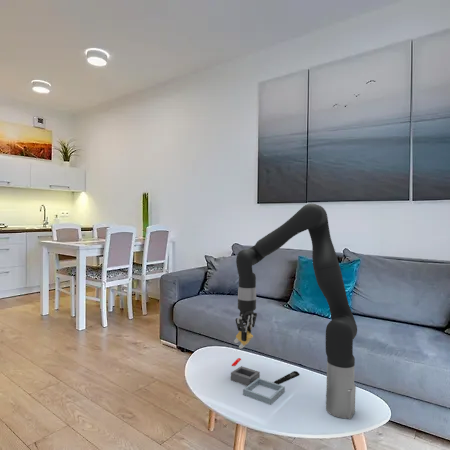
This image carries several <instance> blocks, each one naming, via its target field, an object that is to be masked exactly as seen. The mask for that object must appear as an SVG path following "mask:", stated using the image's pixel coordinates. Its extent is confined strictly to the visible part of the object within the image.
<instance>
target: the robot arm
mask: <svg viewBox="0 0 450 450" xmlns="http://www.w3.org/2000/svg"><path fill="white" fill-rule="evenodd" d="M328 219H329V217H328V214H327V211H326V209H325V208H324V207H323V206H322V205H319V204H316V203H307V204H305V205H303V206H302V207H301V208H300V209H298V210H297V212H295V214H294V215H292V216H291V217H290V218H289V219H287V220H286V221H285V222H284V223H282V224H281V225H280V226H278V227H277V228H275V229H274V230H272V231H271V232H269V233H267V234H266V235H265V236H263V237H262V238H259V240H258V241H256V243H255V244H254V245H252V246H251V247H249V248H248V249H241V250H239V252H238V253H237V254H236V259H235V263H236V269H237V275H238V290H237V309H238V310H239V315H238V318H235V324H236V328H237V331H238V332H239V331H241V340H242V341H246V340H247V330H248V331H249V333H251V334H252V330H253V328H255V326H256V325H255V324H256V321H257V316H258V313H257V312H254V311H256V309H257V288H256V287H257V285H256V284H257V277H256V273H254V272H253V266H255V265H257V264H258V263H259V262H261V261H263V259H264V258H266V257H267V256H269V255H271V254H272V253H274V252H275V251H277V250H279V249H280V248H281V247H283V246H284V245H285V244H287V242H289V241H290V240H291V239H293V238H294V237H295V236H296V235H298V234H301V233H302V232H305V231H307V230H308V233H309V237H310V240H311V244H312V245H311V247H312V253H311V254H312V255H311V256H312V267H313V271H314V276H315V279H316V282H317V285H318V288H319V289H320V292H322V294H323V295H322V296H324V298H325V300H326V302H327V304H328V308H329V313H330V318H331V319H330V321H329V322H328V324H327V325H326V328H325V353H326V354H325V355H326V357H327V358H326V390H325V396H326V397H325V409H326V411H327V413H329V414H330V415H331V416H333V417H336V418H342V419H349V420H351V419H352V418H353V415H354V414H355V412H356V392H357V391H356V389H357V388H356V387H357V385H356V384H355V364H356V358H355V356H354V354H353V353H354V352H353V349H354V348H353V347H354V346H353V345H354V344H353V341H354V339H355V338H356V336H357V334H358V326H357V322H356V320H355V317H354V314H353V312H352V309H351V307H350V304H349V301H348V300H349V299H348V297H347V291H346V286H345V283H344V279H343V274H342V270H341V266H340V262H339V259H338V256H337V253H336V249H335V246H334V244H333V241H332V237H331V231H330V226H329V220H328ZM244 327H245V329H244Z"/></svg>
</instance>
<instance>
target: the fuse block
mask: <svg viewBox="0 0 450 450" xmlns="http://www.w3.org/2000/svg"><path fill="white" fill-rule="evenodd" d="M260 374H261V372H260V371H258V370H255V369H252V368H248V367H246V366H243V365H241V366H239V367H238V368H236V369H234V370H233V371H231V372H230V381H231V382H232V381H233V382H234V383H238V384H241V385H244V386H246V387H247V386H248V385H250V384H251V383H252V382H254V381H255V380H256V379H258V378H260V376H261V375H260ZM260 379H261V378H260Z"/></svg>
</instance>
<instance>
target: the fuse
mask: <svg viewBox="0 0 450 450" xmlns="http://www.w3.org/2000/svg"><path fill="white" fill-rule="evenodd" d="M244 329H245V326H244ZM253 337H254V335H253V334H252V332H251V333H249V331H248V330H247V340H246V341H242V340H241V331H238V333H236V335H235V339H234V340H233V343H235V344H238V343H239V342H240V344H239V346H238V348H239V349H243V348H244V347H245V346H246V345H248V344H249V343H250V341H251V340H252V339H253Z"/></svg>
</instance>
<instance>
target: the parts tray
mask: <svg viewBox="0 0 450 450" xmlns="http://www.w3.org/2000/svg"><path fill="white" fill-rule="evenodd" d="M259 385H260V386H263V387H266V388H269V389H272V390H275V391H276V392H274V393H273V394H272V395H271V396H266V395H264V394H261V393H258V392H255V391H253V390H254V389H255V388H257V387H258V386H259ZM285 390H286V386H284V385H281V384H275V383H274V382H272V381H268V380H267V379H264V378H258V379H256V380H255V381H254V382H252V383H251V384H250V385H248V386H246V387H244V388H243V389H242V396H246V397H249V398H250V399H254V400H257V401H259V402H262V403H265V404H268V405H271V406H272V404H273V403H274V402H276V400H278V398H280V397H281V396H282V395H283V394H284V393H285V392H286V391H285Z"/></svg>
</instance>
